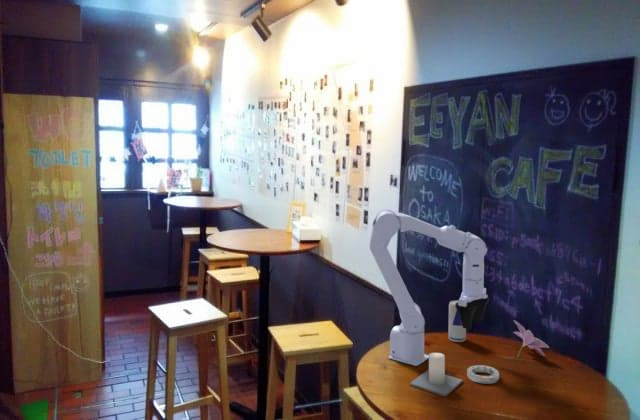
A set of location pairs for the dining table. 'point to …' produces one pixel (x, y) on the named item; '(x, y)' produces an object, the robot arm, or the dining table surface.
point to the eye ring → (484, 369)
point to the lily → (529, 339)
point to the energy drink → (455, 324)
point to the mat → (442, 389)
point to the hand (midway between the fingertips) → (472, 324)
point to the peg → (436, 368)
